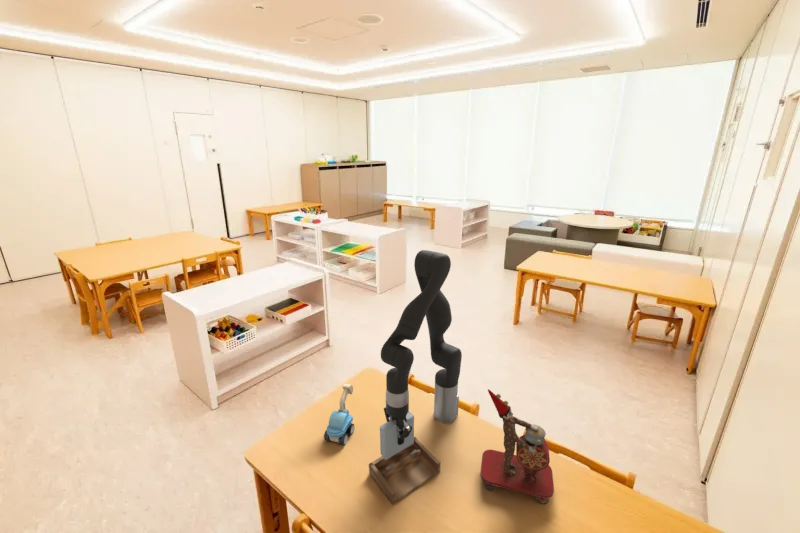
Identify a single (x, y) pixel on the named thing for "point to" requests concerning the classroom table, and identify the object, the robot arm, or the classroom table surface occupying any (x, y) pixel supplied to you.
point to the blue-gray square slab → (394, 437)
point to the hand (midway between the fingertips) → (397, 440)
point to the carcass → (404, 471)
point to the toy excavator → (340, 421)
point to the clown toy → (519, 458)
